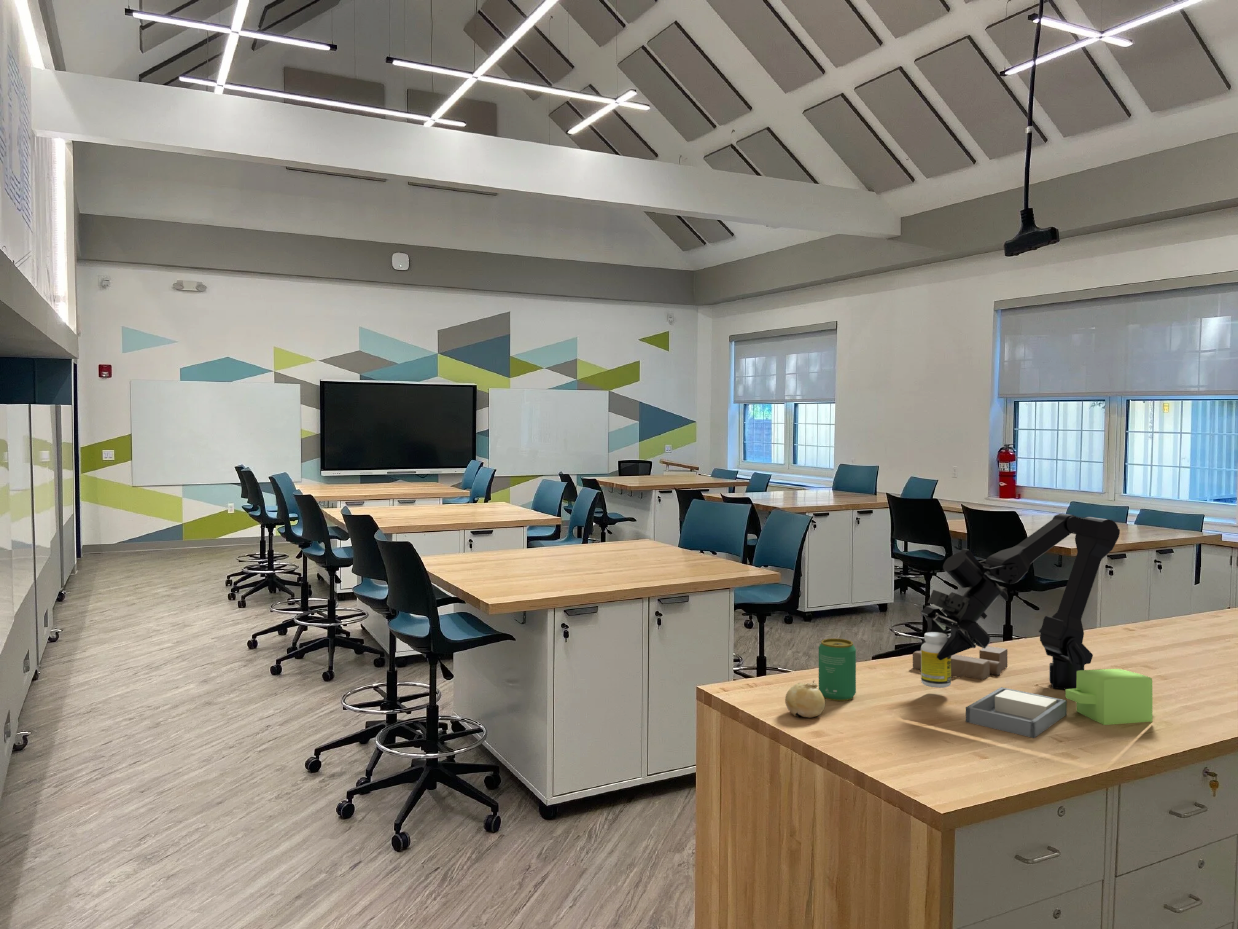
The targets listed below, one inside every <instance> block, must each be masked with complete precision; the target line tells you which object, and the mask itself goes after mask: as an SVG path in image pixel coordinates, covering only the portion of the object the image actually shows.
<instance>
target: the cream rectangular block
mask: <svg viewBox="0 0 1238 929" xmlns="http://www.w3.org/2000/svg"><path fill="white" fill-rule="evenodd" d="M1055 704H1057V700H1055V699H1050V698H1046V697H1041V696H1036V695H1031V694H1026V693H1021V692H1016V691H1011V690H1004V691H1003V692H1001V693H999V694H998V695H996V696H995V711H1000V712H1004V713H1009V714H1013V715H1018V716H1022V717H1027V718H1031V719H1035V718H1036V717H1038V716H1039V715H1040V714H1042V713H1043V712H1045V711H1046V710H1048V709H1049V708H1051V707H1052V706H1054V705H1055Z"/></svg>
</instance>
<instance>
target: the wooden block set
mask: <svg viewBox="0 0 1238 929" xmlns="http://www.w3.org/2000/svg"><path fill="white" fill-rule="evenodd" d="M978 655H979V656H978V657H973V656H966V655H962V654H954V655H952V656H951V677H953V676H954V677H955V678H959V677H960V678H962V677H965V678H966V677H967V678H973V679H978V680H985V679H986V678H990V676H991V675H993V676H994V675H995V676H999V675H1000V674H1001V672H1002V671H1003V670H1004V669H1006V668H1007V667H1008V648H1003V647H998V646H996V647H995V646H989V645H988V646H987V647H986V648H985V649H984V648H982V647H981V649H979V654H978ZM1005 667H1006V668H1005ZM912 668H913V669H914V670H919V669H920V671H921V650H916V651H914V652H913V653H912Z"/></svg>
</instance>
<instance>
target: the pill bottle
mask: <svg viewBox="0 0 1238 929" xmlns="http://www.w3.org/2000/svg"><path fill="white" fill-rule="evenodd" d="M924 638H925V641H926V643H924V644H921V646H920V651H921V670H920V679H921V680H920V681H921V683H922V685H924V686H926V687H930V688H936V689H937V688H938V689H941V688H942V689H943V688H944V689H945V688H948V687H950V686H951V684H952V676H951V656H950V657H947V658H945V659H942V660H939V659H938V658H937V655H938V653H939V652H940V650H941V649H942V647H943V646H944V645H945V643H946V642H947V640H948V637H947V635H946V634H944V633H939V632H928V633H927V632H925V633H924Z"/></svg>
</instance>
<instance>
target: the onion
mask: <svg viewBox="0 0 1238 929" xmlns="http://www.w3.org/2000/svg"><path fill="white" fill-rule="evenodd" d="M815 681H816V680H812V682H811V683H809V682H808V683H803V682H802V683H801V682H799V683H797V684H794V685H793V686H791V687H790V688H789V689H788V691H787V692H786V694H785V698H784V703H785V706H786V708H787V710H788V711H789V712H790V713H791V714H792V715H793V716H795V717H797V718H798V717H799V716H801V717H803V718H814V717H817V716H820V715H821V714H822V712H823V711H824V709H825V707H826V704H825V703H826V701H825V700H826V699H825V698H824V697H823V695H822V693H821V691H820V690H819V685H818V683H815Z"/></svg>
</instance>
